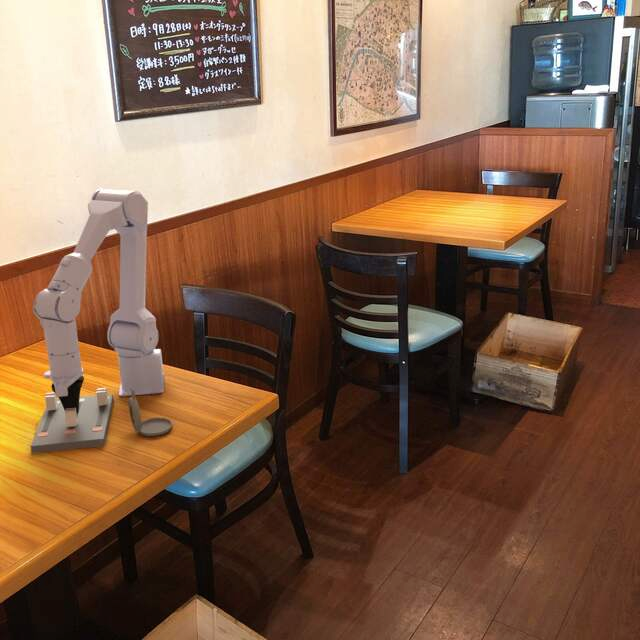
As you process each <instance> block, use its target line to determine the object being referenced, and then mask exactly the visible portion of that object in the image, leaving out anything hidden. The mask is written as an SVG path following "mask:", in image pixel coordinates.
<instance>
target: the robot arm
mask: <svg viewBox="0 0 640 640" xmlns="http://www.w3.org/2000/svg"><path fill="white" fill-rule="evenodd" d="M148 206H149V202H148V200H147V199H146V197H144V196H143V194H142V193H141V192H140V191H139V190H138V191H137V190H117V189H116V190H115V189H106V188H98V189H97V190H95V191H94V192H93V193H92V196H91V200H90V201H89V202H88V203H87V208H88V209H87V210H88V213H89V215H88V218H87V221H86V223H85V225H84V227H83V230H82V232H81V235H80V237H79V239H78V241H77V243H76V247H75V249H74V250H73V252H72V253H69V254H67V255H64V256H63V258H61V260H60V262H59V266H58V267H57V269H56V271H55V273H54V274H53V277H52V278H51V281H50V282H49V284H48V286H47V288H44V289H43V290H41V291H40V292H38V293H37V295H36V296H35V299H34V302H33V306H32V311H33V314H34V315H35V316H36V317H37V318H38V319H39V322H40V326H41V327H42V329H43V333H44V341H45V346H46V352H47V354H46V355H47V359H48V364H49V370H47V371H45V372H44V374H43V377H44V379H50V380H51V382H52V384H51V390H52V393H53V392H54V393H55V394H56V397H57V399H60V401H61V403H62V405H63V408H64V410H65V409H66V408H76V412H77V415H78V411H79V400H80V397H81V396H80V395H81V389H82V387H83V384H84V380H85V377H84V376H83V375H84V368H83V366H82V360H81V359H82V358H81V353H80V346H79V339H78V331H77V322H76V319H75V318H77V317H78V314H80V311H81V305H82V304H81V300H82V295H83V294H82V291H84V288H85V285H86V284H87V282H88V279H89V278H90V277H91V275H92V272H93V269H94V268H93V265H92V262H91V261H92V259H93V258H94V256H95V254H96V253H97V251H98V249H99V248H100V246H101V244H103V242H104V240H105V238H106V236H107V235H108V234H109V232H110V231H111V230H115V231H116V232H117V233H118V234H119V236H120V240H119V241H120V246H119V247H120V248H119V249H120V250H119V251H120V252H119V254H120V255H119V308H118V309H117V310H116V311H114V312H113V313H112V314H111V315H110V321H109V326H108V329H107V333H106V336H107V343H108V344H109V345H110V346H111V347H112V348H114V353H116V354H117V359H118V368H119V375H120V386H119V389H118V390H119V391H118V397H130V396H132V395H131V393H132V391H131V389H130V387H131V388H132V390H133V391H134V392H135V396H142V395H151V394H152V395H153V394H161V393H164V390H165V389H164V388H165V387H164V386H165V385H164V384H165V380H166V378H165V377H166V376H165V372H164V368H163V358H162V357H163V355H162V349H161V348H156V347H157V345H158V343H159V331H158V328H157V318H156V317H155V315H153V314H152V312H150V311H149V310H148V308H146V297H147V294H146V291H147V290H146V288H147V286H146V285H147V246H148V245H147V242H148V241H147V239H148V237H147V236H148V219H149V218H148V216H149V215H148V213H149V212H148V210H149V207H148Z"/></svg>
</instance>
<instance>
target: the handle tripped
mask: <svg viewBox="0 0 640 640" xmlns="http://www.w3.org/2000/svg"><path fill="white" fill-rule="evenodd" d="M65 419H66V426H67V427H72V426H77V422H78V419H77V412H76V408H66V409H65Z"/></svg>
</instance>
